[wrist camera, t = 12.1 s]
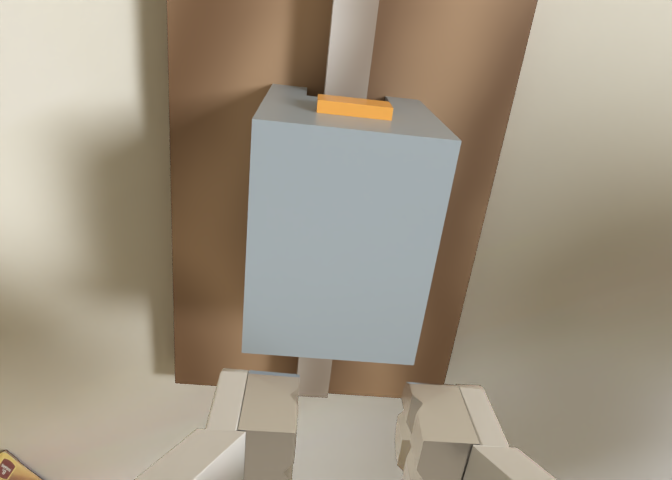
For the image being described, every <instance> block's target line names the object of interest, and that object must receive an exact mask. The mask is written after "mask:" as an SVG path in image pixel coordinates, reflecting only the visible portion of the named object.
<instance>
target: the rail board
mask: <svg viewBox="0 0 672 480" xmlns="http://www.w3.org/2000/svg"><path fill="white" fill-rule="evenodd" d="M537 1H538V0H167V30H168V75H169V120H170V165H171V210H172V255H173V301H174V346H175V383H180V384H195V385H210V386H217V383H218V379H219V376H220V373H221V371H222V369H223V368H228V369H240V370H248V371H249V370H255V371H266V372H277V373H289V374H300V379H299V395H298V396H306V397H322V398H327V397H328V393H331V394H347V395H362V396H377V397H392V398H401V397H402V393H403V388H404V386H405V384H406V382H415V383H431V384H444V382H445V378H446V373H447V369H448V365H449V361H450V357H451V353H452V349H453V345H454V341H455V337H456V332H457V328H458V324H459V320H460V316H461V312H462V308H463V304H464V300H465V296H466V292H467V287H468V283H469V279H470V275H471V271H472V267H473V263H474V259H475V255H476V251H477V247H478V242H479V238H480V234H481V230H482V226H483V222H484V218H485V214H486V210H487V206H488V201H489V197H490V193H491V189H492V185H493V181H494V177H495V173H496V169H497V165H498V161H499V156H500V152H501V148H502V144H503V140H504V136H505V132H506V128H507V124H508V120H509V115H510V111H511V107H512V103H513V99H514V95H515V91H516V87H517V83H518V79H519V75H520V70H521V66H522V62H523V58H524V54H525V50H526V46H527V42H528V38H529V34H530V30H531V25H532V21H533V17H534V13H535V9H536V5H537ZM272 84H280V85H289V86H298V87H307V96H315V97H318V94H325V95H334V96H343V97H352V98H361V99H370V100H379V101H385V96H388V97H397V98H406V99H415V100H420V101H421V102H422V103H423V104H424V105H425V106H426V107H427V108H428V109H429V110H430V111H431V112H432V113H433V114H434V115H435V116H436V117H437V118H438V119H439V120H440V121H441V122H443V123H444V124H445V125H446V126H447V127H448V128H449V129H450V130H451V131H452V132H453V133H454V134H455V135H456V136H457V137H458V138H459V139H460V140H461V141H462V142H461V146H460V151H459V156H458V160H457V165H456V170H455V174H454V179H453V184H452V188H451V193H450V198H449V202H448V207H447V212H446V217H445V221H444V226H443V231H442V235H441V240H440V245H439V249H438V254H437V259H436V263H435V268H434V273H433V278H432V282H431V287H430V292H429V296H428V301H427V306H426V310H425V315H424V320H423V324H422V329H421V334H420V338H419V343H418V348H417V353H416V357H415V362H414V365H402V364H388V363H374V362H361V361H347V360H333V359H319V358H306V357H292V356H278V355H264V354H251V353H242V331H243V309H244V287H245V265H246V243H247V220H248V198H249V176H250V154H251V132H252V118H253V116H254V115H255V113H256V111H257V110H258V108H259V106H260V104H261V103H262V101H263V99H264V97H265V96H266V94H267V92H268V91H269V89H270V87H271V85H272Z"/></svg>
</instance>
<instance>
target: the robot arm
mask: <svg viewBox="0 0 672 480" xmlns="http://www.w3.org/2000/svg"><path fill="white" fill-rule="evenodd" d="M299 379H300V374H289V373H277V372H266V371H255V370H249V371H248V370H240V369H228V368H223V369H222V371H221V373H220V376H219V379H218V383H217V387H216V391H215V394H214V398H213V402H212V406H211V409H210V413H209V417H208V420H207V424H206V428H205V429H196V430H195V431H194V432H192V433H191V434H190V435H189V436H188V437H186V438H185V439H184V440H183V441H181V442H180V443H179V444H178V445H176V446H175V447H174V448H173V449H171V450H170V451H169V452H168V453H166V454H165V455H164V456H163V457H161V458H160V459H159V460H158V461H156V462H155V463H154V464H153V465H152V466H150V467H149V468H148V469H147V470H145V471H144V472H143V473H142V474H140V475H139V476H138V477H137V478H135V479H134V480H292V471H293V463H294V456H295V444H296V433H297V417H298V395H299ZM401 398H402V403H403V408H404V410H403V411H402V412H401V413H400V414H399V415H398V417H397V423H396V429H395V454H396V460H397V465H398V466H399V467H400V468H401V469H402V470H403V475H402V480H557V479H556V478H555V477H553V476H552V475H551V474H550V473H548V472H547V471H546V470H545V469H543V468H542V467H541V466H540V465H538V464H537V463H536V462H535V461H533V460H532V459H531V458H530V457H528V456H527V455H526V454H525V453H523V452H522V451H521V450H520V449H518V448H516V447H510V446H509V444H508V442H507V440H506V437H505V435H504V433H503V431H502V428H501V426H500V424H499V422H498V419H497V417H496V415H495V412H494V410H493V408H492V406H491V403H490V401H489V399H488V397H487V394H486V392H485V390H484V388H483V387H481V386H480V385H461V384H456V385H447V384H431V383H415V382H406V384H405V386H404V388H403V393H402V397H401Z"/></svg>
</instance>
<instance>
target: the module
mask: <svg viewBox="0 0 672 480" xmlns="http://www.w3.org/2000/svg"><path fill="white" fill-rule="evenodd" d="M461 142H462V141H461V140H460V139H459V138H458V137H457V136H456V135H455V134H454V133H453V132H452V131H451V130H450V129H449V128H448V127H447V126H446V125H445V124H444V123H443V122H441V121H440V120H439V119H438V118H437V117H436V116H435V115H434V114H433V113H432V112H431V111H430V110H429V109H428V108H427V107H426V106H425V105H424V104H423V103H422V102H421V101H420V100H415V99H406V98H397V97H388V96H385V101H379V100H370V99H361V98H352V97H343V96H334V95H325V94H318V97H315V96H307V87H298V86H289V85H280V84H272V85H271V87H270V89H269V91H268V92H267V94H266V96H265V97H264V99H263V101H262V103H261V104H260V106H259V108H258V110H257V111H256V113H255V115H254V116H253V118H252V132H251V154H250V176H249V198H248V220H247V243H246V265H245V287H244V309H243V331H242V353H251V354H264V355H278V356H292V357H306V358H319V359H333V360H347V361H361V362H374V363H388V364H402V365H414V362H415V357H416V353H417V348H418V343H419V338H420V334H421V329H422V324H423V320H424V315H425V310H426V306H427V301H428V296H429V292H430V287H431V282H432V278H433V273H434V268H435V263H436V259H437V254H438V249H439V245H440V240H441V235H442V231H443V226H444V221H445V217H446V212H447V207H448V202H449V198H450V193H451V188H452V184H453V179H454V174H455V170H456V165H457V160H458V156H459V151H460V146H461Z"/></svg>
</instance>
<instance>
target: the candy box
mask: <svg viewBox="0 0 672 480" xmlns="http://www.w3.org/2000/svg"><path fill="white" fill-rule="evenodd" d="M0 480H42V479H41V478H40V477H38V476H37V475H36V474H34V473H33V472H31V471H30V470H29V469H28V468H26V467H25V466H24V465H23V464H22V463H20V462H19V460H18V459H17V458H16V457H15V456H13V455H12V454H11V453H9V452H8V451H7V450H5V451H3V452H1V453H0Z"/></svg>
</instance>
